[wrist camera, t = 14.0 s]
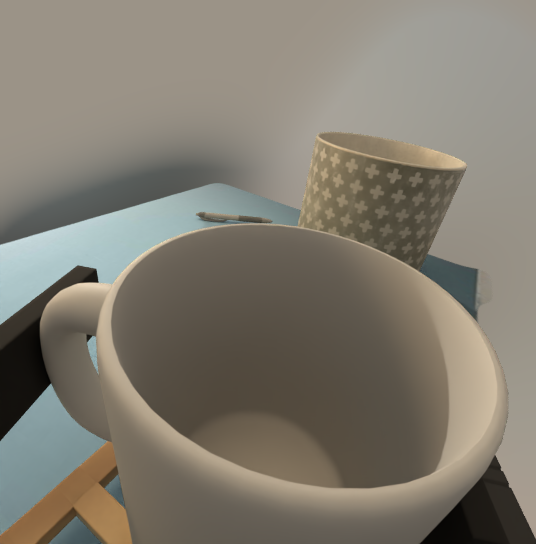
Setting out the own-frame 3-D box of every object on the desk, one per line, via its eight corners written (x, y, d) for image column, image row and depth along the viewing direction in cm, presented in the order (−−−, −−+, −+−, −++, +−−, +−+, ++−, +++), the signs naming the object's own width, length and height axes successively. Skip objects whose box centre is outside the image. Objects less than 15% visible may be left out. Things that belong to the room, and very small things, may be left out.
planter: (299, 296, 42) (334, 152, 33) (286, 234, 58) (306, 126, 49) (434, 308, 44) (503, 177, 35) (385, 245, 60) (423, 143, 51)
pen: (196, 217, 58) (196, 210, 58) (271, 224, 61) (272, 217, 60) (195, 220, 58) (195, 212, 57) (272, 227, 60) (273, 220, 59)
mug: (357, 450, 16) (456, 259, 10) (350, 748, 9) (672, 663, 3) (140, 378, 18) (120, 181, 12) (-14, 574, 10) (-247, 316, 5)
